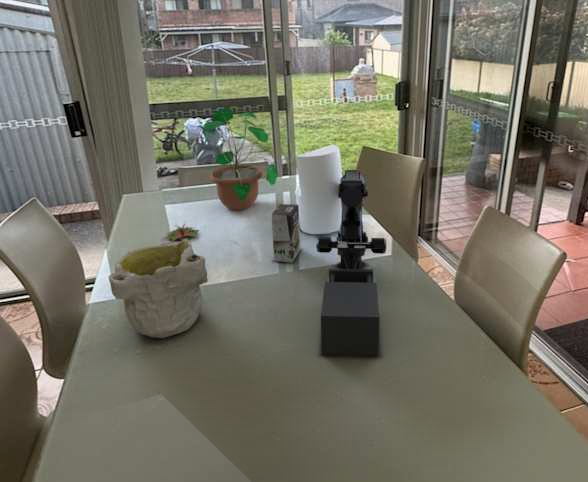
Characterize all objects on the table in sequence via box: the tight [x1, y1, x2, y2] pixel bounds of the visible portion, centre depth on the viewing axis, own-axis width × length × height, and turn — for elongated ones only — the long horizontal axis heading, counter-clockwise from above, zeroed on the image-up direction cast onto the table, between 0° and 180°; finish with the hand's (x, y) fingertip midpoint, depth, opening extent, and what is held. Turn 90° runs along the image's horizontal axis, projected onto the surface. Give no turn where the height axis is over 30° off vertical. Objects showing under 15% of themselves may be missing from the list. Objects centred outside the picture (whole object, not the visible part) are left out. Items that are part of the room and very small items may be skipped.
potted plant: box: [203, 108, 279, 211], centre depth 177 cm, size 31×29×40 cm
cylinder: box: [294, 144, 343, 235], centre depth 157 cm, size 17×17×28 cm
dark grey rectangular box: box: [320, 281, 380, 357], centre depth 103 cm, size 14×13×11 cm
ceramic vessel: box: [108, 239, 209, 339], centre depth 108 cm, size 23×24×25 cm
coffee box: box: [270, 203, 301, 264], centre depth 139 cm, size 9×6×16 cm
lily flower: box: [163, 221, 201, 242], centre depth 155 cm, size 12×12×5 cm
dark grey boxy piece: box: [328, 268, 374, 283], centre depth 112 cm, size 16×11×9 cm
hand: (350, 276), depth 116 cm, fingers closed, pressing on dark grey boxy piece
